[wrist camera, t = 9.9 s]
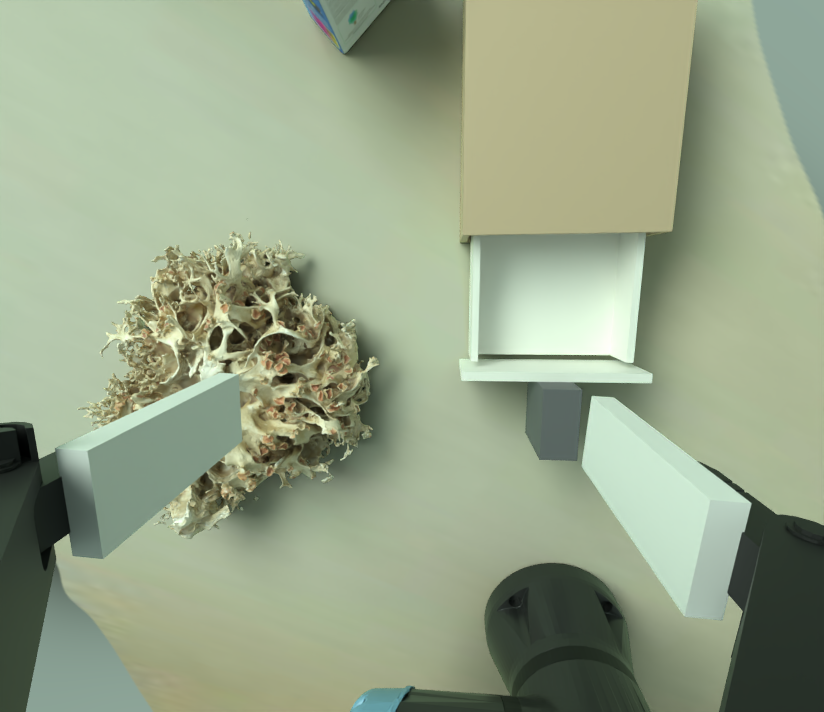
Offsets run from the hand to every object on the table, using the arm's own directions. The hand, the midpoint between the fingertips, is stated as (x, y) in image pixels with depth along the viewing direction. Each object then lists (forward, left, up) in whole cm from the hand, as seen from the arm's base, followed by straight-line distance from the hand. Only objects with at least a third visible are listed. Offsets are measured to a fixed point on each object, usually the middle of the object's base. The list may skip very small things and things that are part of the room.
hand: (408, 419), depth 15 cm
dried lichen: (-6, +21, -27) cm, 35 cm away
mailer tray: (+4, -11, -26) cm, 28 cm away
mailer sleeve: (+19, -11, -27) cm, 34 cm away
